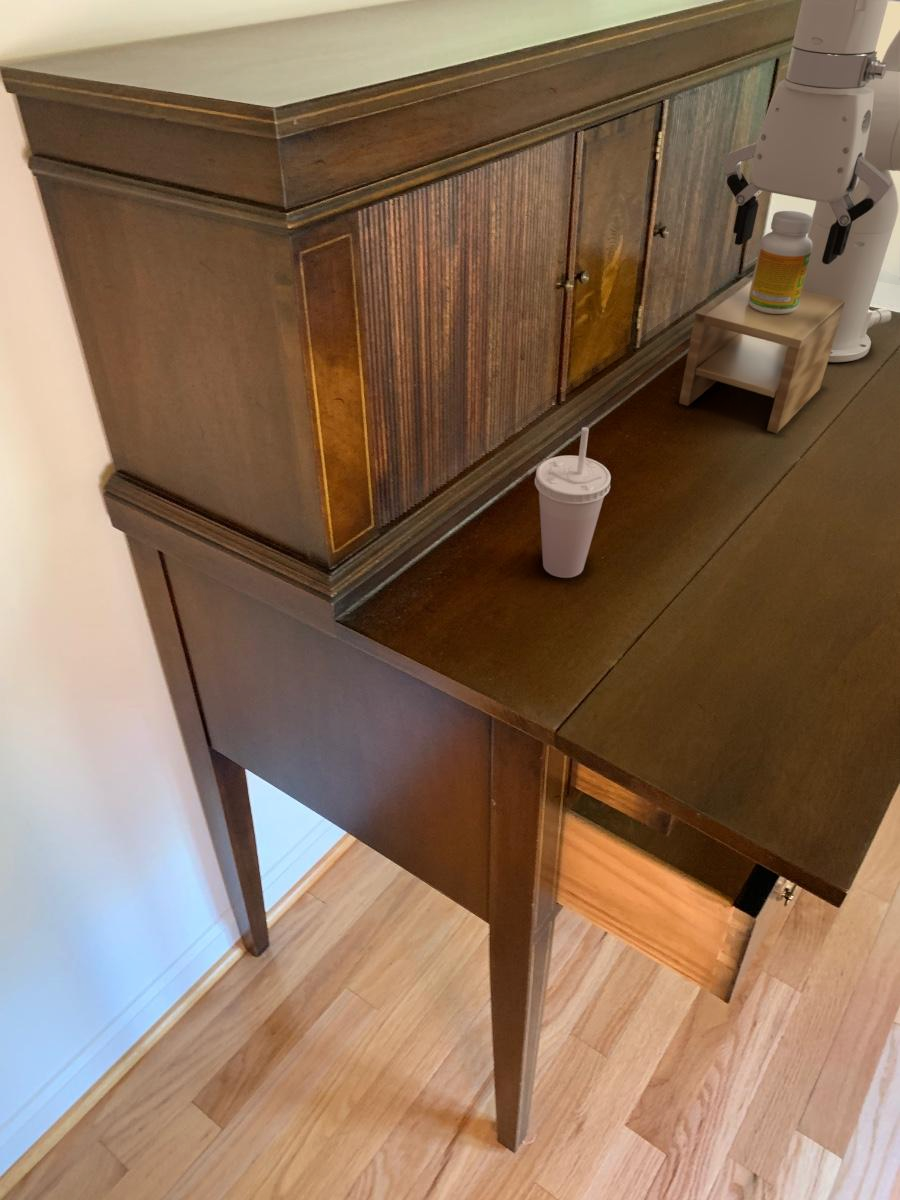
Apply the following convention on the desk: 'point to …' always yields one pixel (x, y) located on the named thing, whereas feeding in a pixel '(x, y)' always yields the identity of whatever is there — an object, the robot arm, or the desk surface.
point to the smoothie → (569, 508)
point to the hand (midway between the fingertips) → (785, 250)
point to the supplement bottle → (781, 264)
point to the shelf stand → (762, 349)
